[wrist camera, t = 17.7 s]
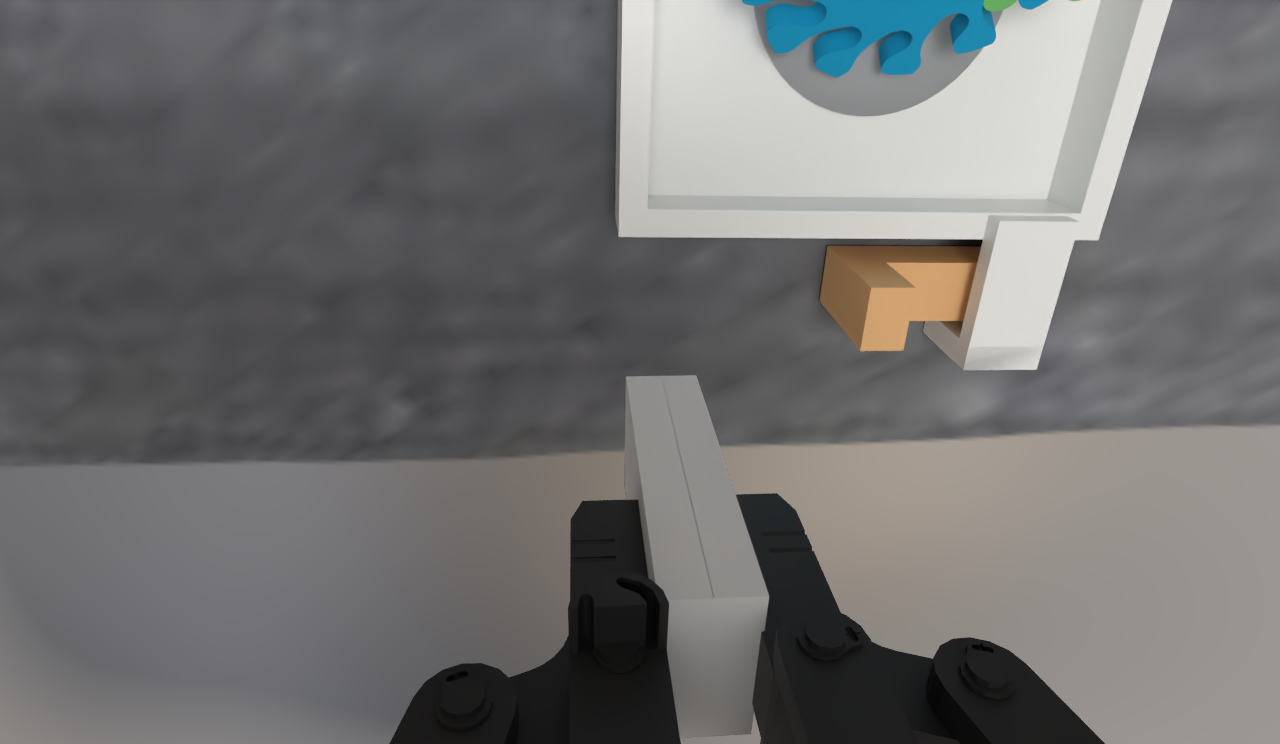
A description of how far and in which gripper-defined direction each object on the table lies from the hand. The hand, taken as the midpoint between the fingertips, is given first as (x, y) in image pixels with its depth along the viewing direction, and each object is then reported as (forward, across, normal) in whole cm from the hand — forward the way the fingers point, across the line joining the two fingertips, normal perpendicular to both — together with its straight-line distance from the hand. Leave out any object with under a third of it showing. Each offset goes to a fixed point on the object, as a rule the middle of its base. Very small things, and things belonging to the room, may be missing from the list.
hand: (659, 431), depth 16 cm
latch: (+15, +13, -1) cm, 20 cm away
